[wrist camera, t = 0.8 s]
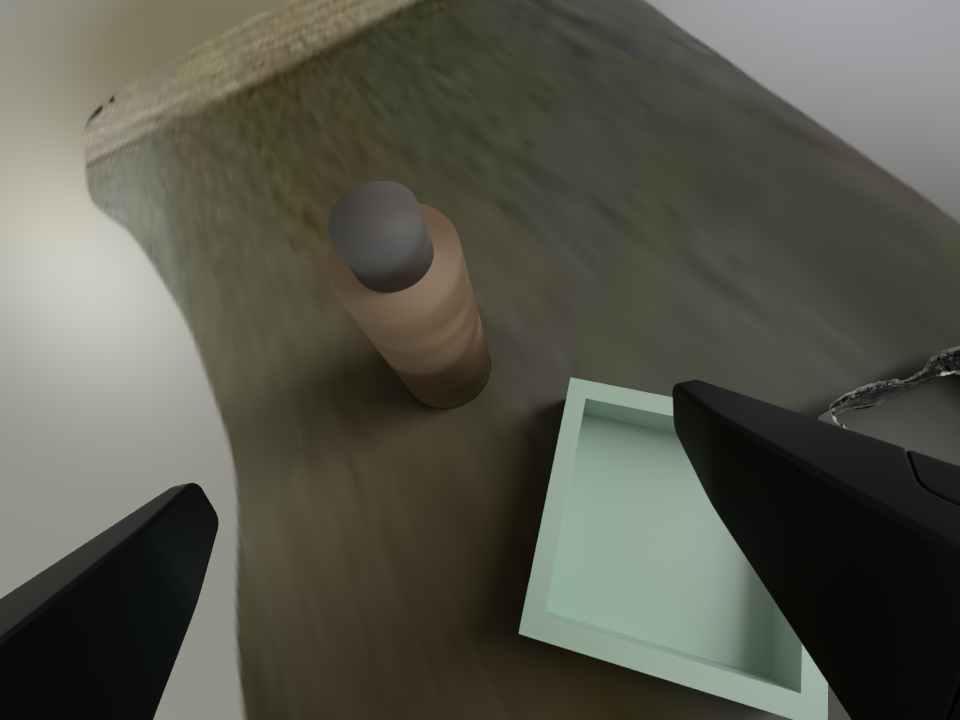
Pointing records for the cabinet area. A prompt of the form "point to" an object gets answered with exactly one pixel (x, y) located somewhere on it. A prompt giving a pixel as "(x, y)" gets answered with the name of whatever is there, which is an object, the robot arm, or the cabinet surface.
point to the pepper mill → (409, 291)
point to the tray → (655, 564)
